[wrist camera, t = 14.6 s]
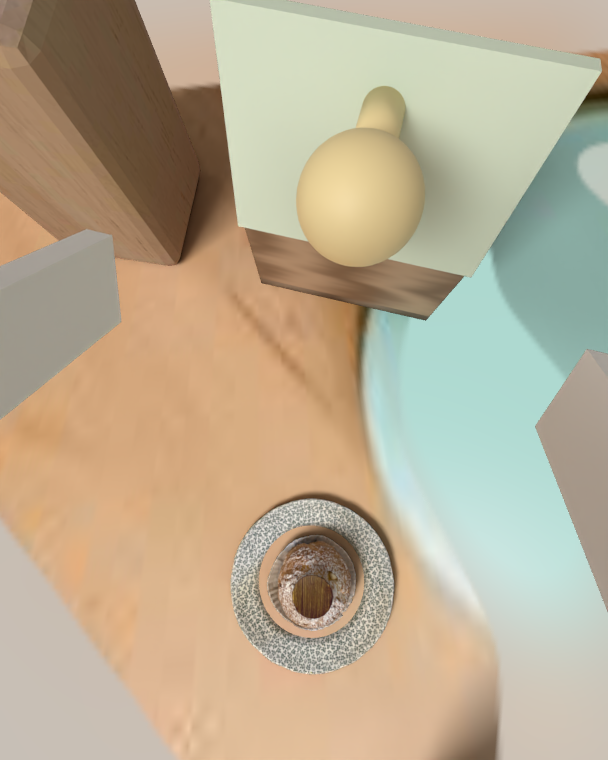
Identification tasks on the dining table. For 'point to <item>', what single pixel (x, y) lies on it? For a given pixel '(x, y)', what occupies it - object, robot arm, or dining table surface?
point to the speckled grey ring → (312, 587)
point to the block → (93, 127)
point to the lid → (385, 130)
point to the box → (350, 277)
